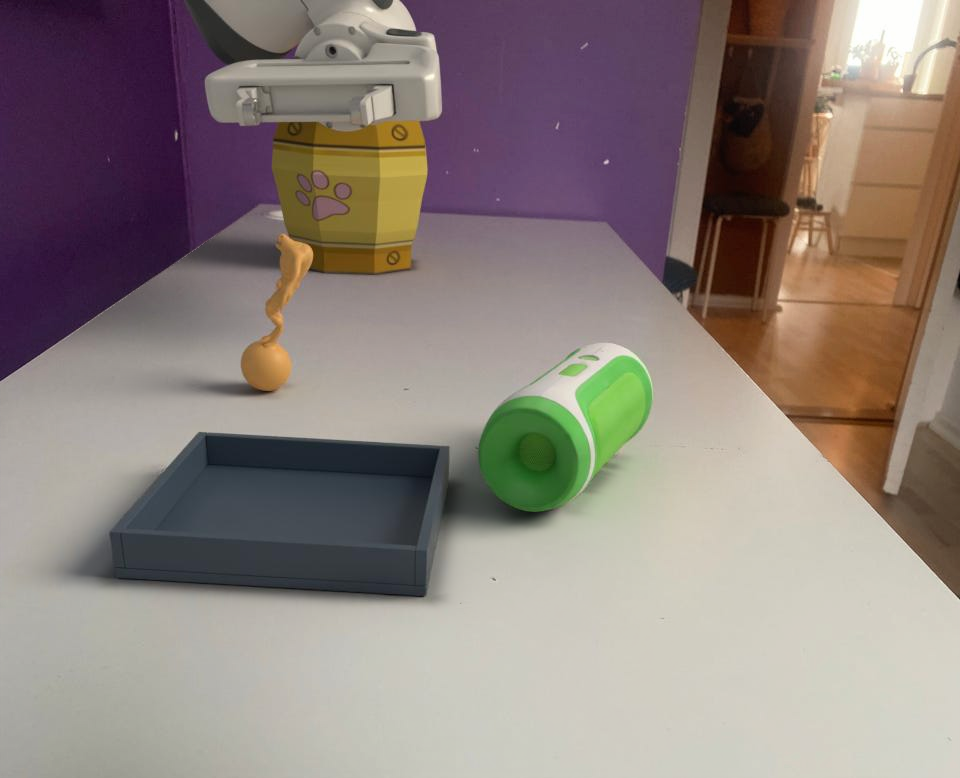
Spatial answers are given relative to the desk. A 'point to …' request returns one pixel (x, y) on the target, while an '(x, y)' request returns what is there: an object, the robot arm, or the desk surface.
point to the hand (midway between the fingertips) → (301, 114)
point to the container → (352, 192)
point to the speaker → (565, 427)
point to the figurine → (277, 320)
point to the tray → (289, 515)
